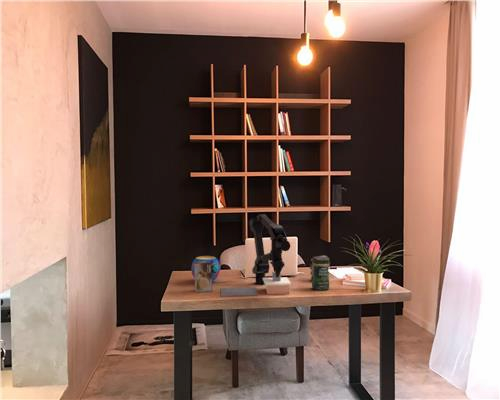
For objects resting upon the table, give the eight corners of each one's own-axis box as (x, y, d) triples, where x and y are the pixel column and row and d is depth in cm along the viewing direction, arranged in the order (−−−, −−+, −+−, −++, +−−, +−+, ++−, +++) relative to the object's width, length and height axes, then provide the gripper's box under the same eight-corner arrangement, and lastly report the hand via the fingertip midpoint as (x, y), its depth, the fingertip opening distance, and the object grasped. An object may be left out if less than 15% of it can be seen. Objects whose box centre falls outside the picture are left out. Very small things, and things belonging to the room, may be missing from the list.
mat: (220, 288, 241) (220, 287, 241) (255, 287, 242) (255, 287, 242) (220, 296, 224) (220, 295, 224) (258, 295, 225) (258, 294, 225)
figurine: (331, 281, 256) (331, 257, 256) (313, 282, 254) (313, 258, 253) (325, 278, 265) (325, 254, 265) (308, 279, 263) (308, 255, 262)
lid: (262, 279, 241) (262, 270, 241) (286, 279, 242) (286, 269, 242) (265, 285, 227) (265, 275, 227) (291, 285, 228) (291, 274, 228)
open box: (264, 288, 240) (264, 279, 240) (285, 288, 241) (285, 279, 241) (267, 294, 228) (267, 285, 228) (289, 293, 229) (289, 284, 229)
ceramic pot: (192, 286, 247) (192, 260, 246) (190, 279, 264) (190, 255, 264) (221, 284, 250) (221, 259, 250) (218, 277, 268) (218, 254, 267)
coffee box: (210, 288, 241) (210, 260, 241) (212, 291, 235) (212, 262, 235) (194, 289, 239) (194, 261, 238) (196, 292, 233) (196, 263, 232)
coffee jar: (314, 291, 235) (314, 257, 234) (310, 287, 242) (310, 255, 242) (331, 290, 236) (331, 257, 235) (326, 286, 244) (326, 255, 243)
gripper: (260, 246, 242) (260, 273, 243) (263, 251, 224) (263, 280, 224) (279, 245, 243) (279, 272, 244) (284, 251, 224) (284, 280, 225)
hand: (276, 276), depth 234 cm, fingers open, 5 cm apart
